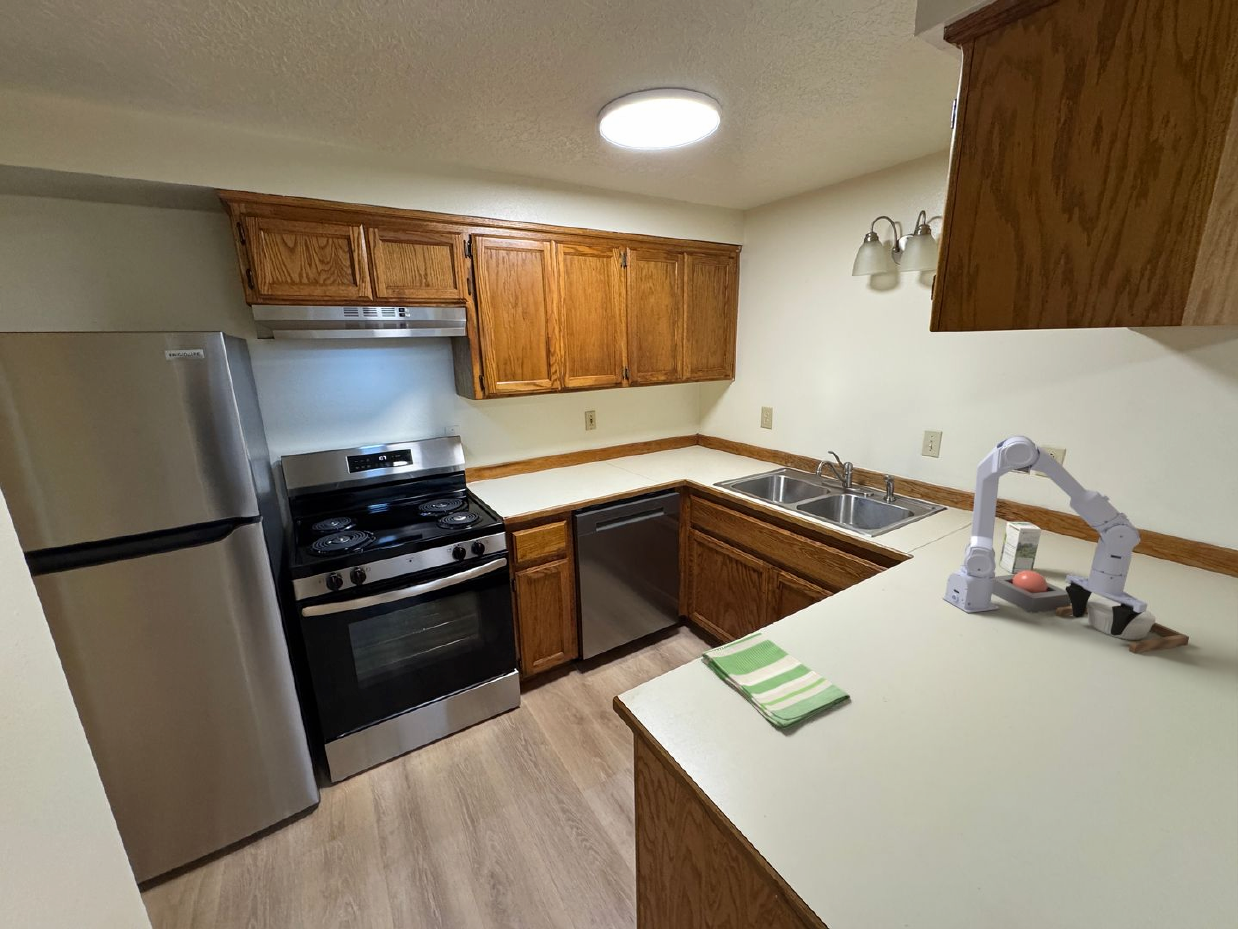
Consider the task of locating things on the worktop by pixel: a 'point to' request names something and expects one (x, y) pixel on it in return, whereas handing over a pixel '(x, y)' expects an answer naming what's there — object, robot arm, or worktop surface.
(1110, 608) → the ramekin
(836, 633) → the worktop surface
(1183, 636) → the bent wooden slat
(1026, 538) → the syrup box
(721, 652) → the dish towel
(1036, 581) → the salmon pink ball
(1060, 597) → the base
